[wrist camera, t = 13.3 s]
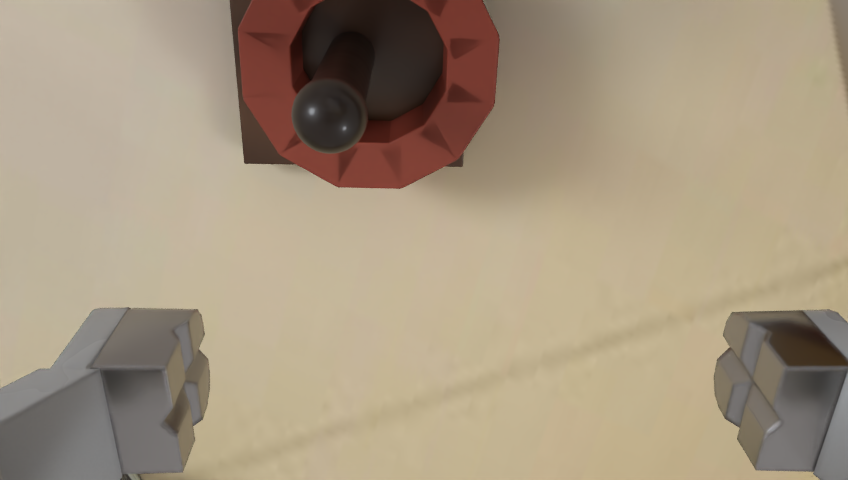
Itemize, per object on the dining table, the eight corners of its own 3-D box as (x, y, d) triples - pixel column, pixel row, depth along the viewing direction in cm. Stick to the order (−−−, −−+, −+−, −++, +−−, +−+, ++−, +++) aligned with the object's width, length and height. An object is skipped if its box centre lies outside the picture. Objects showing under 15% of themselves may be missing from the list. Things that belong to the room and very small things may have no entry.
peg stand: (231, -76, 31) (134, -56, 20) (471, -71, 31) (502, -48, 20) (250, 153, 35) (179, 271, 24) (461, 156, 35) (482, 274, 24)
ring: (247, -80, 29) (228, -76, 26) (498, -71, 29) (507, -67, 27) (263, 159, 34) (249, 185, 31) (482, 165, 34) (488, 191, 31)
